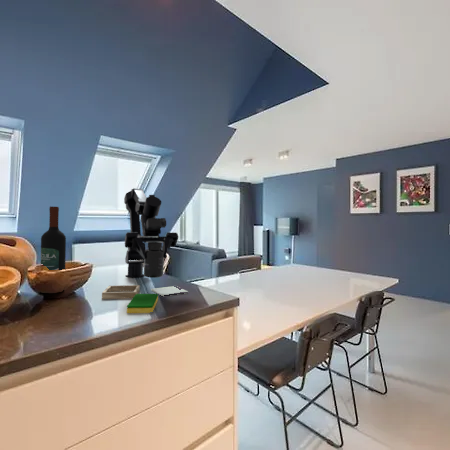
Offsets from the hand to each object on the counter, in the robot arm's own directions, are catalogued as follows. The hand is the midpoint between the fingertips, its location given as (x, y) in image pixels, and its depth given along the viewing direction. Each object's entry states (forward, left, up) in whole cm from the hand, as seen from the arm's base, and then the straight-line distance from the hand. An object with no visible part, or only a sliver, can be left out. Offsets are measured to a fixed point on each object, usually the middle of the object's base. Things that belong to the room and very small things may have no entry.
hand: (155, 257), depth 101 cm
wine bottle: (+14, -33, -13) cm, 38 cm away
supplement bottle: (-1, -1, -7) cm, 7 cm away
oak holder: (+6, -9, -13) cm, 17 cm away
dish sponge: (+13, +6, -13) cm, 19 cm away
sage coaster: (-5, +3, -13) cm, 14 cm away
